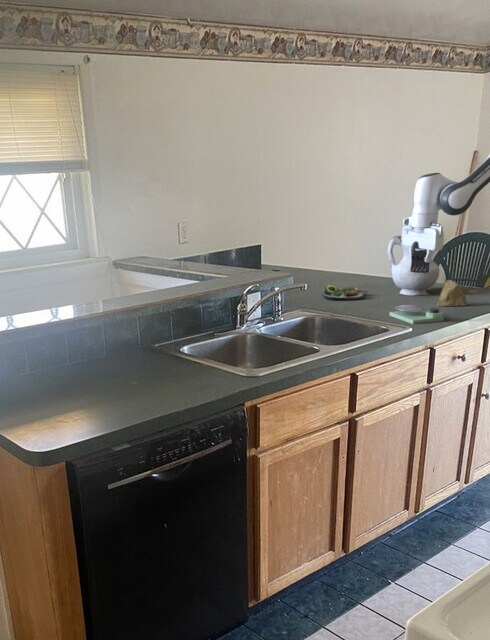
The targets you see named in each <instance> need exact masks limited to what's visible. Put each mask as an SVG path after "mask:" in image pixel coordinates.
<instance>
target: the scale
mask: <svg viewBox="0 0 490 640" xmlns="http://www.w3.org/2000/svg"><path fill="white" fill-rule="evenodd" d="M389 316H390V317H393V318H395V319H398V320H400V321H403V322H407V323H409V324H412V325H418V324H426V323H433V322H442V321H444V319H445V317H444V311H443V310H439V313H430V309H429V310H423V311H420V312H402V311H398V310H396V311H390V312H389Z"/></svg>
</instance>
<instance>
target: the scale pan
mask: <svg viewBox="0 0 490 640" xmlns="http://www.w3.org/2000/svg"><path fill="white" fill-rule="evenodd" d="M395 310H396V311H402V312H420V311H423V310H424V307H423V306H421V305H416V304H400V305H397V306H395ZM424 311H425V310H424Z"/></svg>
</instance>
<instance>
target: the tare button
mask: <svg viewBox="0 0 490 640" xmlns="http://www.w3.org/2000/svg"><path fill="white" fill-rule="evenodd" d="M429 310H430V313H439V311H440V308H439V307H431V308H430V309H429Z"/></svg>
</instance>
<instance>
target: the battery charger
mask: <svg viewBox="0 0 490 640" xmlns="http://www.w3.org/2000/svg"><path fill="white" fill-rule="evenodd" d="M411 255H412V259H411V269H410V271H411V272H415V273H427V272H429V271H430V262H431V261H430V262H424V257H426V255H427V250H426V249H421V248H419V244H418V242H417V241H415V242H414V243H413V244H412V249H411Z"/></svg>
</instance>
